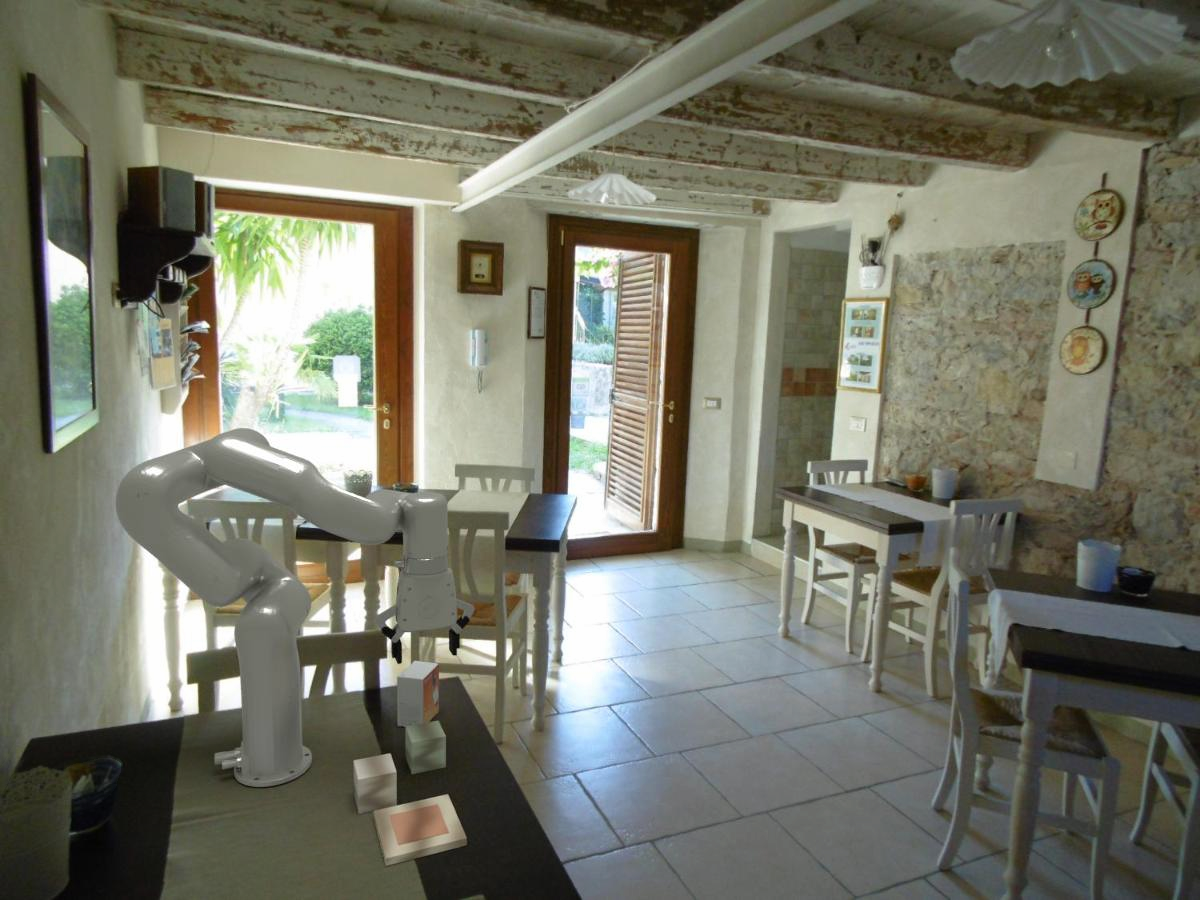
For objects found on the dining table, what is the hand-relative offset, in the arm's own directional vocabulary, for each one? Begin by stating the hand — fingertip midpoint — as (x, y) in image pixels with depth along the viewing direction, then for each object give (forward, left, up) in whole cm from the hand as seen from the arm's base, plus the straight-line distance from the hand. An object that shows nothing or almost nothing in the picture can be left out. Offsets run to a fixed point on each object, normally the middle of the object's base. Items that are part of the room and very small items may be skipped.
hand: (426, 656), depth 133 cm
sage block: (0, 0, -20) cm, 20 cm away
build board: (-5, -19, -20) cm, 28 cm away
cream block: (-10, -8, -20) cm, 24 cm away
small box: (+2, +16, -20) cm, 26 cm away
